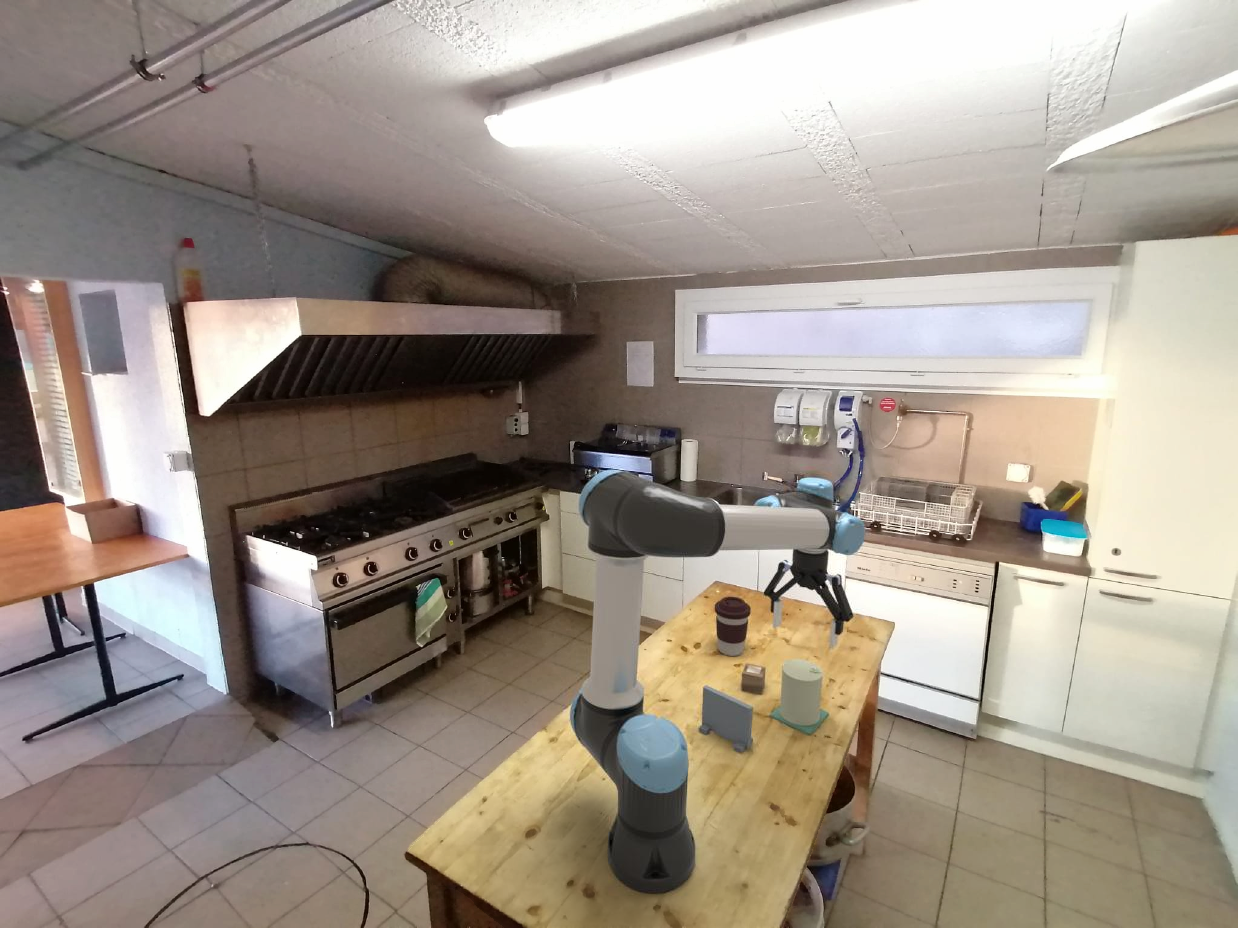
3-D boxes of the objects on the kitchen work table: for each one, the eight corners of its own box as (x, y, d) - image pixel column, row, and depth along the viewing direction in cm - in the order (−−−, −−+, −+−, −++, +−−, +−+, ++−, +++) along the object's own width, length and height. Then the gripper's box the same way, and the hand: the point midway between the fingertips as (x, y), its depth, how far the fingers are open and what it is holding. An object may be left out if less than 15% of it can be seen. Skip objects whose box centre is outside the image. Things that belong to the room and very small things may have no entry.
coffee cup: (753, 647, 170) (756, 598, 167) (740, 662, 162) (743, 612, 159) (721, 637, 175) (723, 590, 172) (707, 652, 167) (709, 603, 164)
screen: (743, 754, 127) (745, 713, 124) (696, 729, 134) (698, 690, 132) (755, 742, 130) (757, 702, 128) (709, 719, 138) (710, 681, 136)
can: (822, 728, 134) (826, 681, 131) (780, 723, 136) (783, 676, 133) (817, 704, 143) (820, 659, 140) (777, 699, 145) (780, 655, 142)
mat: (810, 735, 133) (810, 733, 132) (769, 716, 139) (770, 714, 139) (828, 714, 140) (828, 712, 140) (789, 697, 146) (789, 695, 146)
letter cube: (761, 695, 148) (762, 676, 147) (741, 690, 149) (742, 672, 148) (764, 684, 152) (765, 666, 151) (745, 680, 154) (746, 662, 153)
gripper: (874, 557, 125) (865, 648, 129) (768, 531, 141) (763, 613, 146) (861, 567, 119) (852, 662, 124) (752, 539, 136) (747, 623, 140)
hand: (804, 635), depth 135 cm, fingers open, 13 cm apart
